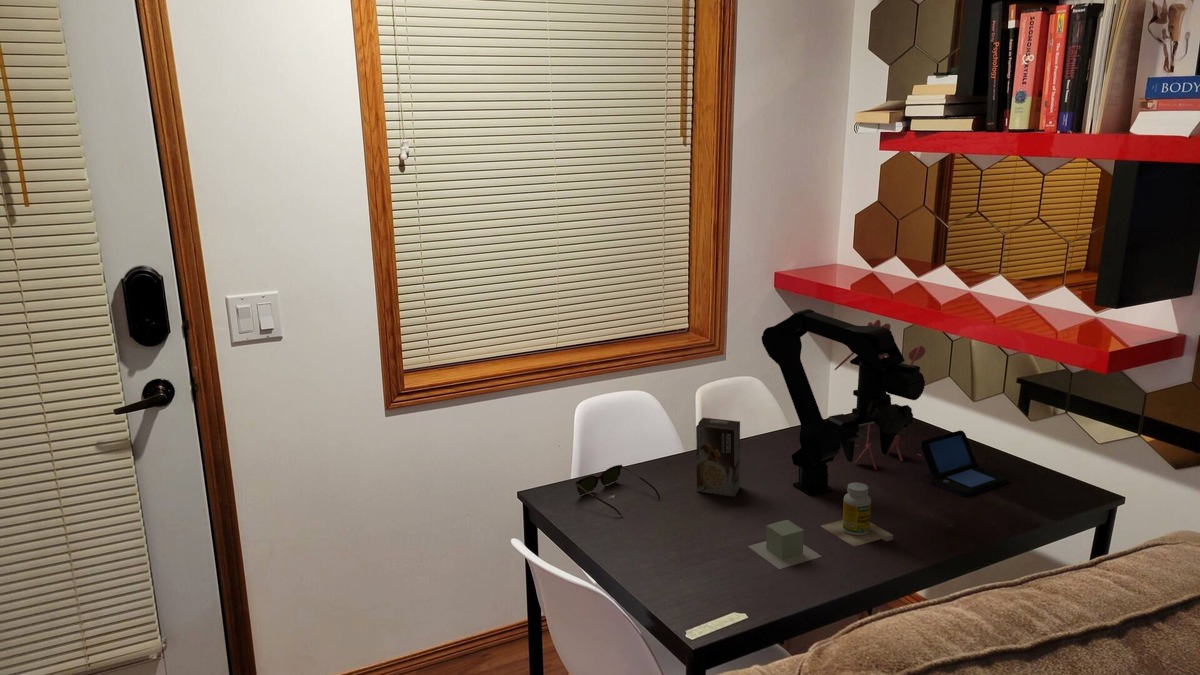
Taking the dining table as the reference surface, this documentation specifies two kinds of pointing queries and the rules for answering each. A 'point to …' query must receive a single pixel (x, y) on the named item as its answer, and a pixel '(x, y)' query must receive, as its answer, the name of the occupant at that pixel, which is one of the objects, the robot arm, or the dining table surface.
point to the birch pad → (856, 540)
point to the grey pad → (777, 562)
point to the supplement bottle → (856, 509)
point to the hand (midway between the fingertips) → (867, 457)
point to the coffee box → (718, 456)
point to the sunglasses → (603, 482)
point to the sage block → (784, 539)
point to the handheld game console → (957, 465)
